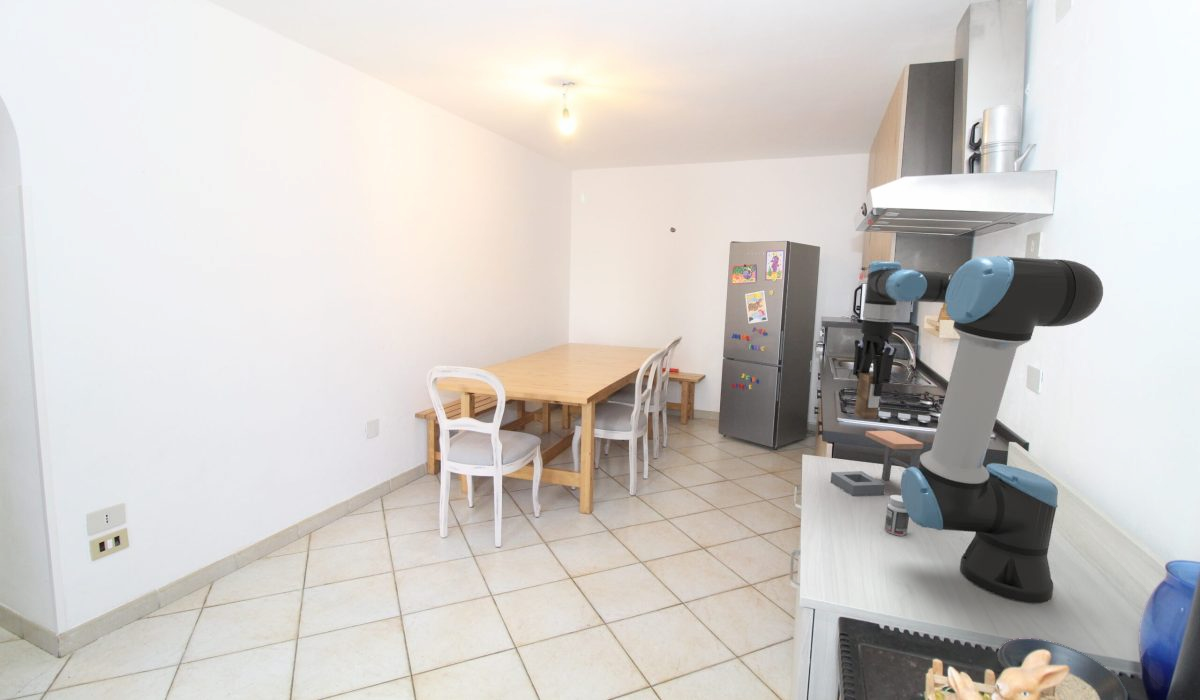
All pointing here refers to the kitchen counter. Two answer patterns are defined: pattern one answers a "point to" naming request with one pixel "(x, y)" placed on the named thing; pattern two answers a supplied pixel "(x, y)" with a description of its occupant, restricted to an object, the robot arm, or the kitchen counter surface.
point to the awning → (896, 442)
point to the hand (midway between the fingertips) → (866, 404)
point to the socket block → (857, 483)
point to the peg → (864, 398)
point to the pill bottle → (896, 516)
